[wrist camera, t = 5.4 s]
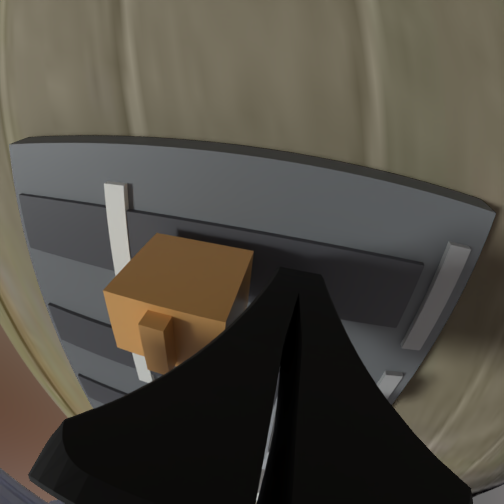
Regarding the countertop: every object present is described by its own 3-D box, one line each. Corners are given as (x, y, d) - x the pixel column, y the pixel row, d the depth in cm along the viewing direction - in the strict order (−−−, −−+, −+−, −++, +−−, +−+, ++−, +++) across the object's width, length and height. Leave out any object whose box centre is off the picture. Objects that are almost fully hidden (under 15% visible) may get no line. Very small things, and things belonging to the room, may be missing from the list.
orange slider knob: (247, 305, 10) (217, 393, 7) (160, 285, 10) (109, 360, 7) (253, 250, 9) (218, 339, 6) (156, 232, 9) (91, 303, 6)
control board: (335, 456, 18) (333, 473, 17) (99, 396, 20) (91, 410, 19) (480, 198, 8) (499, 216, 7) (28, 137, 11) (5, 145, 9)
